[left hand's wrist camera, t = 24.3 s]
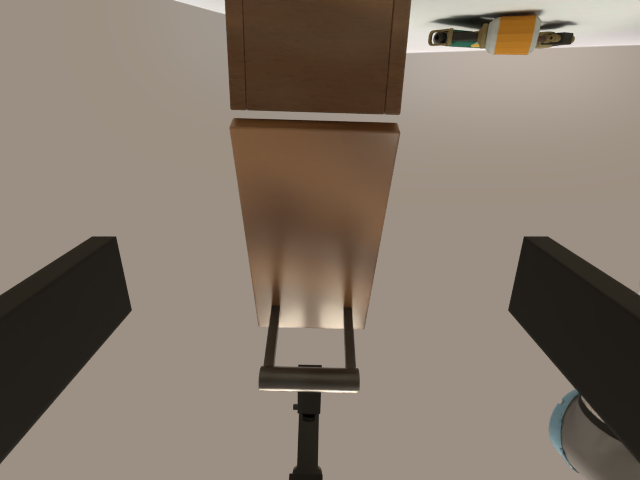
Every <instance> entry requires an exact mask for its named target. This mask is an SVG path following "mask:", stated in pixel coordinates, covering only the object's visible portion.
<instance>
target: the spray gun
mask: <svg viewBox="0 0 640 480" xmlns="http://www.w3.org/2000/svg"><path fill="white" fill-rule="evenodd" d="M540 25H541V20H540V18H539V17H538V16H537V15H523V16H502V17H498V18H494V19H493V20H492V21H491V22H490V23H489V26H488V23H485V24H484V25H483V26H482V28H481V29H480V30H479V31H475V32H473V31H463V30H453V28H450V29H443V30H433V31H431V32H430V34H429V39H428V43H429V45H430V46H439V45H443V46H452V47H470V48H485V49H486V50H487V51H488V53H491V54H510V55H528V54H530V53H531V52H532V51H533V50H534V49H535V48H549V47H551V46H558V45H568V44H571V43H573V41H574V40H575V37H574V36H573V33H566V32H563V33H555V32H539V31H540ZM435 32H437V33H436V34H435V35H434V39H433V41H434V44H432V35H433V33H435Z"/></svg>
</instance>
